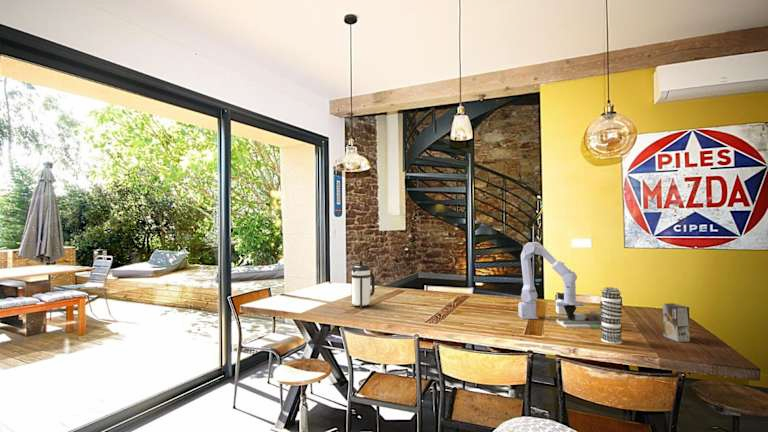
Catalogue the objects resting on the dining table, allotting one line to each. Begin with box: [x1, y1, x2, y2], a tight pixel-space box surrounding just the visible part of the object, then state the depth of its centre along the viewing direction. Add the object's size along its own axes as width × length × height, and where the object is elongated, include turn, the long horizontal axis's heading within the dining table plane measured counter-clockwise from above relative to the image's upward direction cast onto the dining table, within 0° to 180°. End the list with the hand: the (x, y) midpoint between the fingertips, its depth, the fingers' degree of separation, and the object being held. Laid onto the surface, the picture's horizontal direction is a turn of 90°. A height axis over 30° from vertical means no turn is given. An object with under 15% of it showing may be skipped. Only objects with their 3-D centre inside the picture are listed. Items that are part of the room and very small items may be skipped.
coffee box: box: [662, 302, 691, 343], centre depth 185 cm, size 9×6×16 cm
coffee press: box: [350, 260, 376, 310], centre depth 256 cm, size 17×16×30 cm
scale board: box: [555, 310, 602, 329], centre depth 210 cm, size 20×12×6 cm, turn 89°
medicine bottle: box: [555, 292, 567, 316], centre depth 235 cm, size 7×7×12 cm
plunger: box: [571, 312, 588, 321], centre depth 210 cm, size 8×5×4 cm, turn 89°
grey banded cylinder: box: [599, 286, 623, 345], centre depth 182 cm, size 9×9×25 cm
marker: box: [584, 312, 595, 321], centre depth 210 cm, size 3×5×4 cm, turn 179°
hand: (569, 319), depth 210 cm, fingers closed
